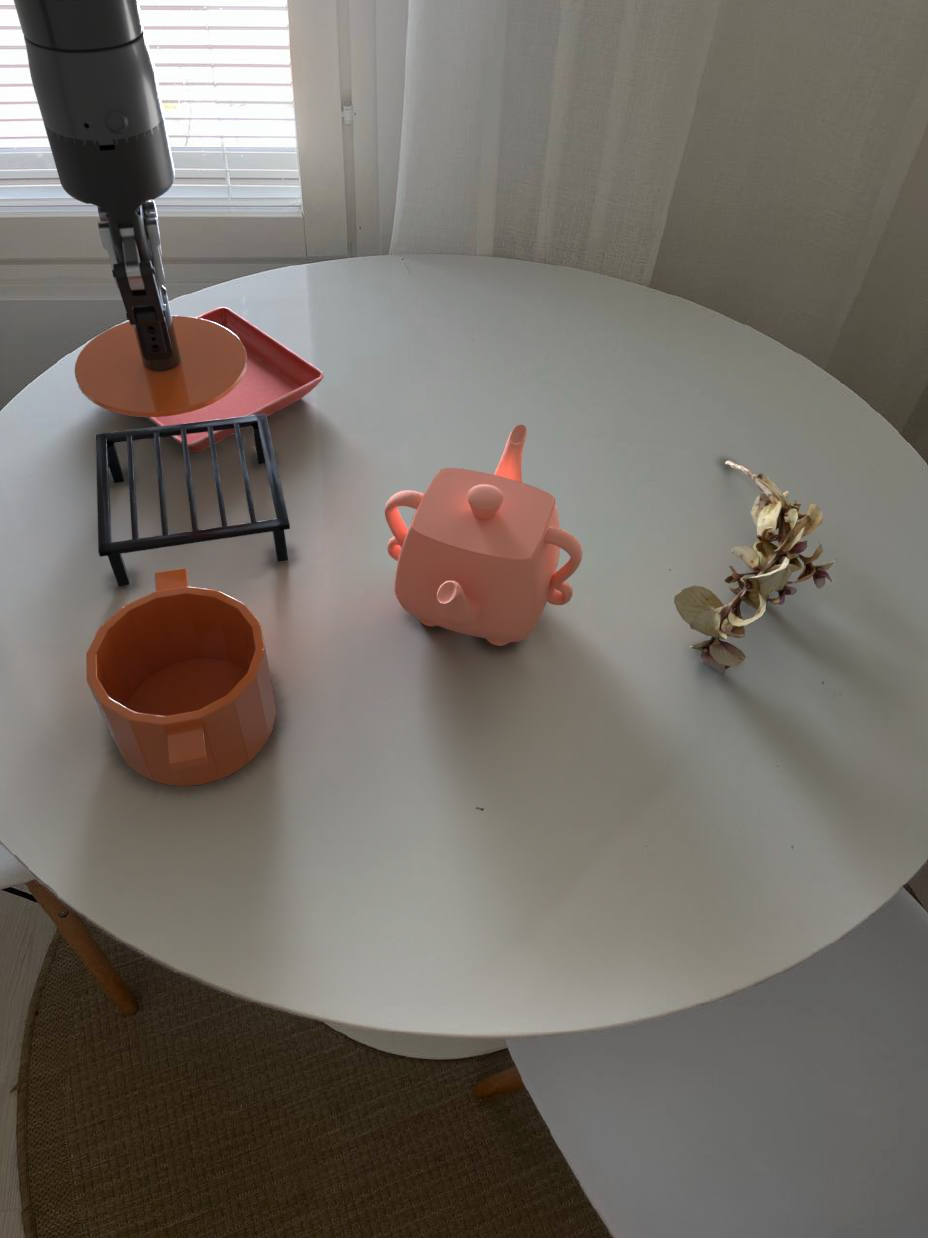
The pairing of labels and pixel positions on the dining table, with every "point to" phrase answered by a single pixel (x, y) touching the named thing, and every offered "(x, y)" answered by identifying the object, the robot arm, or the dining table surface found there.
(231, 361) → the lid
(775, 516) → the artificial flower
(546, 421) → the dining table surface
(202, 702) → the pot
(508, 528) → the teapot
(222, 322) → the plant saucer
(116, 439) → the rack
